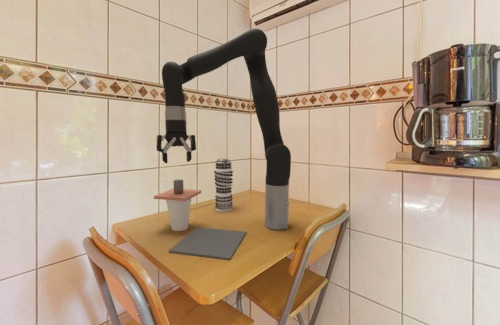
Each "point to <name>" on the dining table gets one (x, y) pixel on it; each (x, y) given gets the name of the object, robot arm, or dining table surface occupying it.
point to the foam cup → (178, 214)
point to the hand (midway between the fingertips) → (177, 162)
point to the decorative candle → (223, 185)
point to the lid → (178, 193)
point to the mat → (210, 243)
